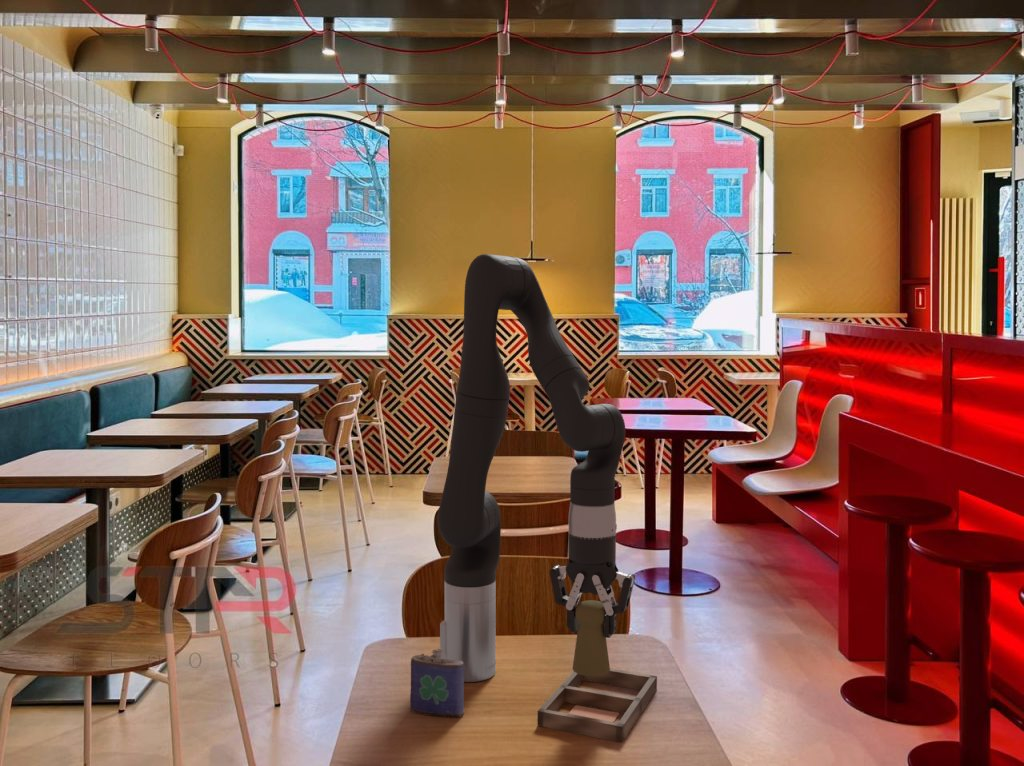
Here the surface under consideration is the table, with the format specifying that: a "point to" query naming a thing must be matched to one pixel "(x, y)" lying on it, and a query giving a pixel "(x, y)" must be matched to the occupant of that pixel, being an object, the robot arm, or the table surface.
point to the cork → (591, 640)
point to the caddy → (598, 705)
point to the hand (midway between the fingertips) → (591, 633)
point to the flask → (437, 686)
